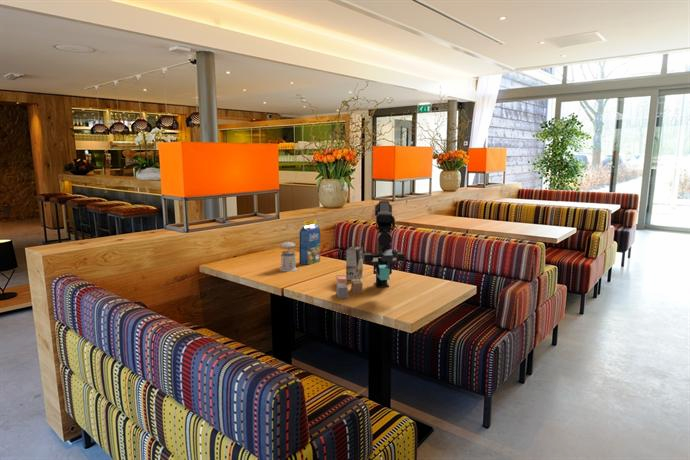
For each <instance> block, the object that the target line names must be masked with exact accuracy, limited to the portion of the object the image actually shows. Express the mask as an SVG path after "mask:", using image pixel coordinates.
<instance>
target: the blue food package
mask: <svg viewBox="0 0 690 460" xmlns="http://www.w3.org/2000/svg"><path fill="white" fill-rule="evenodd" d="M299 230H300V231H299V264H302V265H308V266H309V265H312V264H314V263H315V264H316V263H318V262H320V261H321V229H320V226H318V224H317V219H311V220H305V221H303V226H302V227H301V229H299Z"/></svg>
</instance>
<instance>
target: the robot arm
mask: <svg viewBox="0 0 690 460" xmlns="http://www.w3.org/2000/svg"><path fill="white" fill-rule="evenodd" d="M374 216H375V230H377V242H376V243H377V244H376V246H377V251H376V253H377V254H372V252H363V254H362V259H363V262H370V263H372V264H373V270H372V271H373V275H375V282H373V285H374V286H375V287H376V288H389V287H390V285H389V284H388V280H380V279H379V278H378V276H379V265H386V266H387V267H388V268H389V269H390V276H391V275H392V273H393V266H394V265H395V263H398V261H399V262H402V261H403V262H404V261H406V259H407V258H406V257H407V256H406V254H404V252H403V251H398V249H392V244H391V243H392V241H393V236H392V231H395V229H396V218H395V216H394V215H393V206H392V204H390V201H388V200H380V201H378V203H377V204H376V205H374ZM377 274H378V276H377Z"/></svg>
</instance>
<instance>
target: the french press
mask: <svg viewBox="0 0 690 460" xmlns="http://www.w3.org/2000/svg"><path fill="white" fill-rule="evenodd" d="M286 227H287V228H290V224H286ZM295 246H296V243H294V242H292V241H285V242H282V243H281V244H280V247H283V248H288V250H283V251H281V253H282V254H281V255H280V258H281V259H280V260H281V261H280V263H281V264H280V265H281V267H280V268H279V271H281V272H295V271H297V270H298V268H297V267H296V254H295V253H296V252H295V251H294V249H293V248H294V247H295ZM289 248H291V250H290V249H289Z"/></svg>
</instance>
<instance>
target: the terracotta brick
mask: <svg viewBox="0 0 690 460" xmlns="http://www.w3.org/2000/svg"><path fill="white" fill-rule="evenodd" d="M335 277H336V278H335V279H336V281H335V282H336V285H335V286H337V284H340V283H345V284H346V286H347V287H348V285H347V284H348V280H347V278H346V274H337V275H336V276H335Z"/></svg>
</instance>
